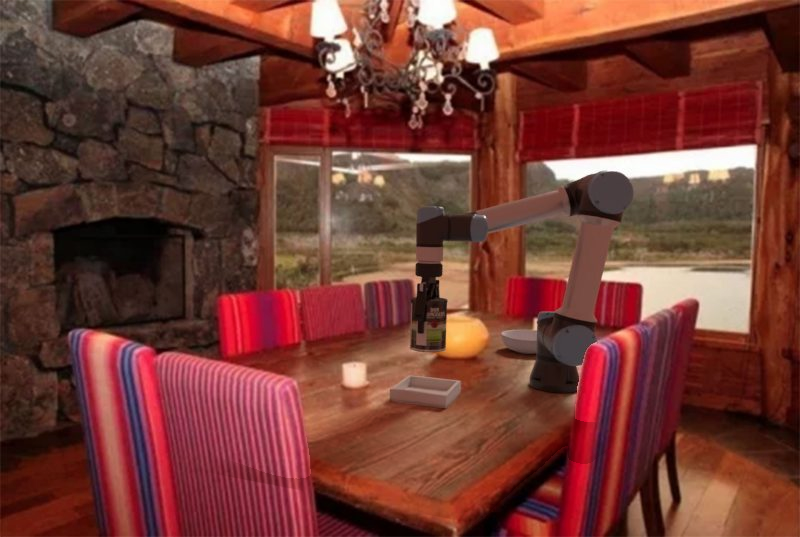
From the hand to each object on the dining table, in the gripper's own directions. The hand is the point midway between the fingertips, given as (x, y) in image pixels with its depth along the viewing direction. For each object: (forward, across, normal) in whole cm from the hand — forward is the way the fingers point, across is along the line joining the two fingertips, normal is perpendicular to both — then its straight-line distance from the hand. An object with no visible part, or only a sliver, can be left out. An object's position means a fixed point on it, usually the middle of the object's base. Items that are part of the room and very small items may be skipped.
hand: (427, 341), depth 163 cm
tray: (+16, 0, 0) cm, 16 cm away
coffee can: (+2, 0, 0) cm, 2 cm away
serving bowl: (+16, -73, +19) cm, 77 cm away
